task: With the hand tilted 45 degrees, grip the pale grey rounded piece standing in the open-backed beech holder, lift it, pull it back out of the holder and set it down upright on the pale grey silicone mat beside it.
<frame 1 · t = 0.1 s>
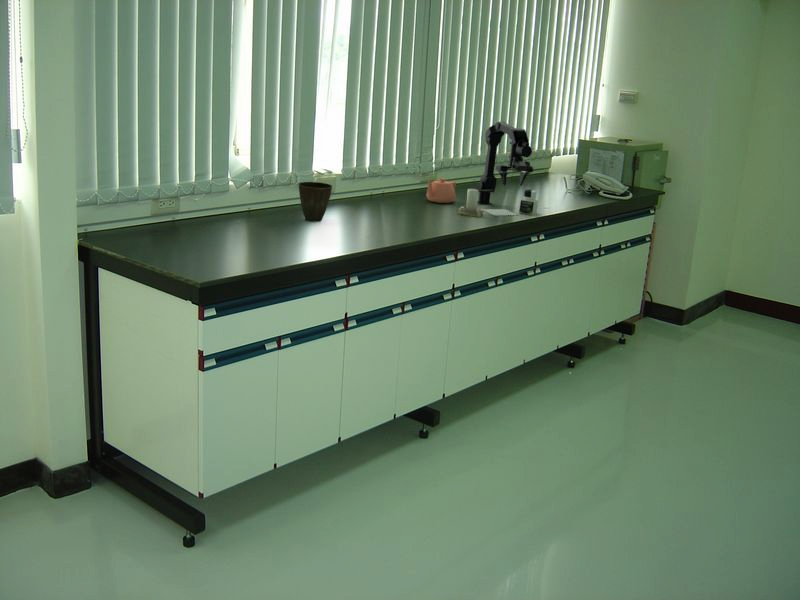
hand: (512, 185, 426), 15 cm above the countertop, tool pointing down, fingers open, 9 cm apart
medicine bottle: (527, 213, 437), on the countertop
teapot: (439, 201, 451), on the countertop
holder: (470, 213, 425), on the countertop
plant pot: (313, 220, 383), on the countertop
pale grey rounded piece: (471, 202, 422), in the holder
mat: (499, 212, 432), on the countertop
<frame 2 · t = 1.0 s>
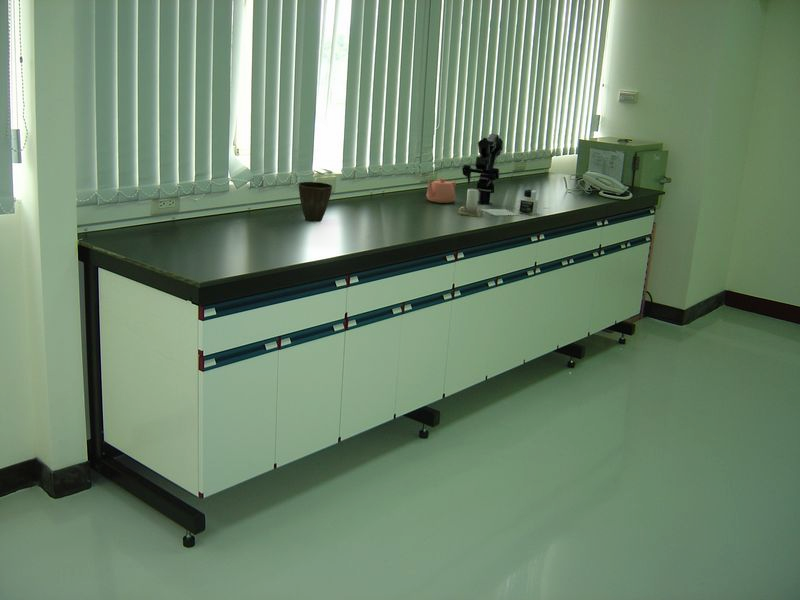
hand: (477, 185, 428), 13 cm above the countertop, tool tilted 45°, fingers open, 9 cm apart
nothing on the countertop moved.
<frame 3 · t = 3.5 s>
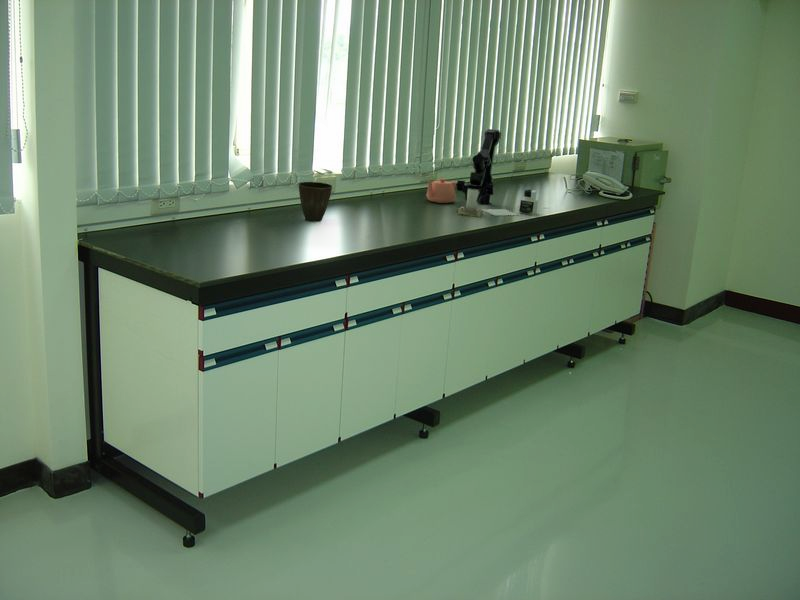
hand: (471, 201, 422), 7 cm above the countertop, tool tilted 45°, fingers closed on pale grey rounded piece, 5 cm apart
pale grey rounded piece: (471, 202, 422), in the holder, touching gripper
everything else where it was.
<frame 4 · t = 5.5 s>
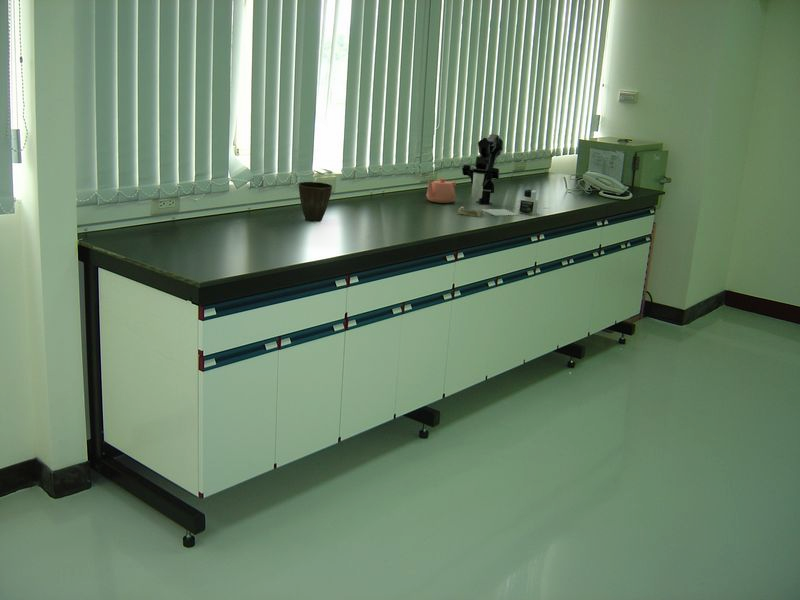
hand: (477, 185, 428), 13 cm above the countertop, tool tilted 45°, fingers closed on pale grey rounded piece, 5 cm apart
pale grey rounded piece: (477, 186, 429), point 13 cm above the countertop, touching gripper
everything else where it was.
when the fingers open (8 cm above the countertop, at t = 7.7 s): pale grey rounded piece stays where it is, resting on mat.
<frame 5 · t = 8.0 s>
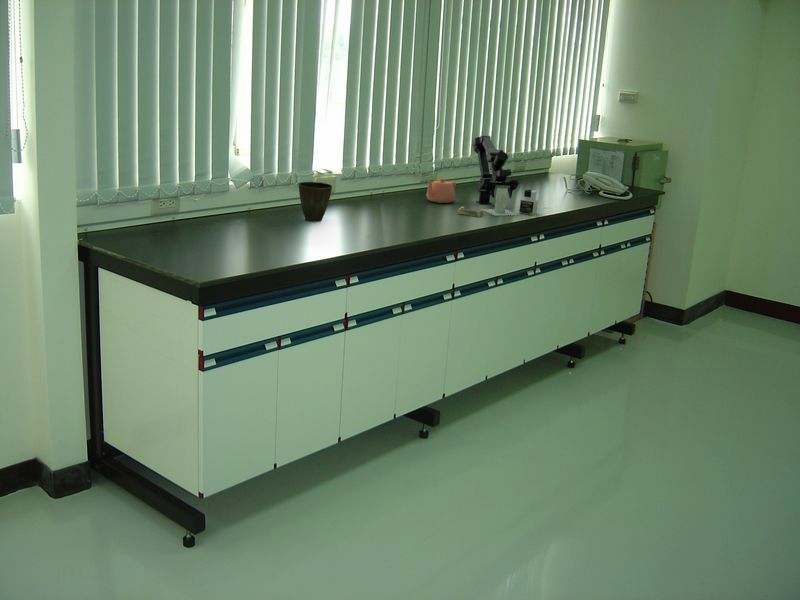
hand: (502, 197, 428), 8 cm above the countertop, tool tilted 45°, fingers open, 9 cm apart
pale grey rounded piece: (501, 200, 429), on the mat
everything else where it was.
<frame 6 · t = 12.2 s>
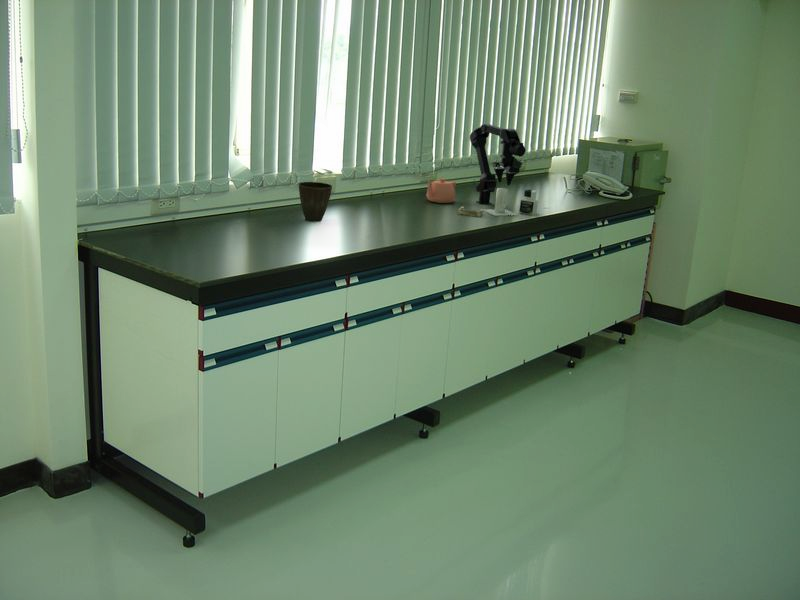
hand: (504, 183, 441), 13 cm above the countertop, tool pointing down, fingers open, 9 cm apart
nothing on the countertop moved.
at the end: pale grey rounded piece inside the target area on the mat (0.1 cm from its centre), point 6.4 cm above the mat's base; pale grey rounded piece tilted 0°; the gripper is holding nothing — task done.
